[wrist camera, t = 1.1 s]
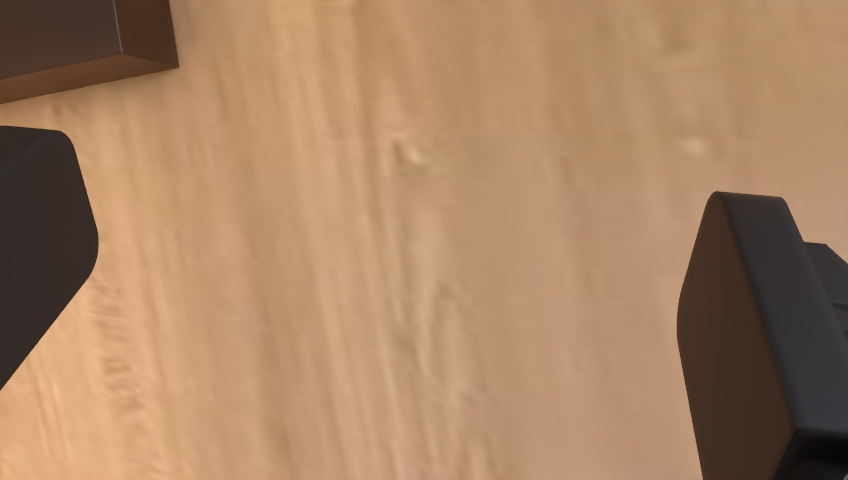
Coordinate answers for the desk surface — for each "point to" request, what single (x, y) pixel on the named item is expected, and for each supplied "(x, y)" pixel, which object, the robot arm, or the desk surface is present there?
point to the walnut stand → (80, 43)
